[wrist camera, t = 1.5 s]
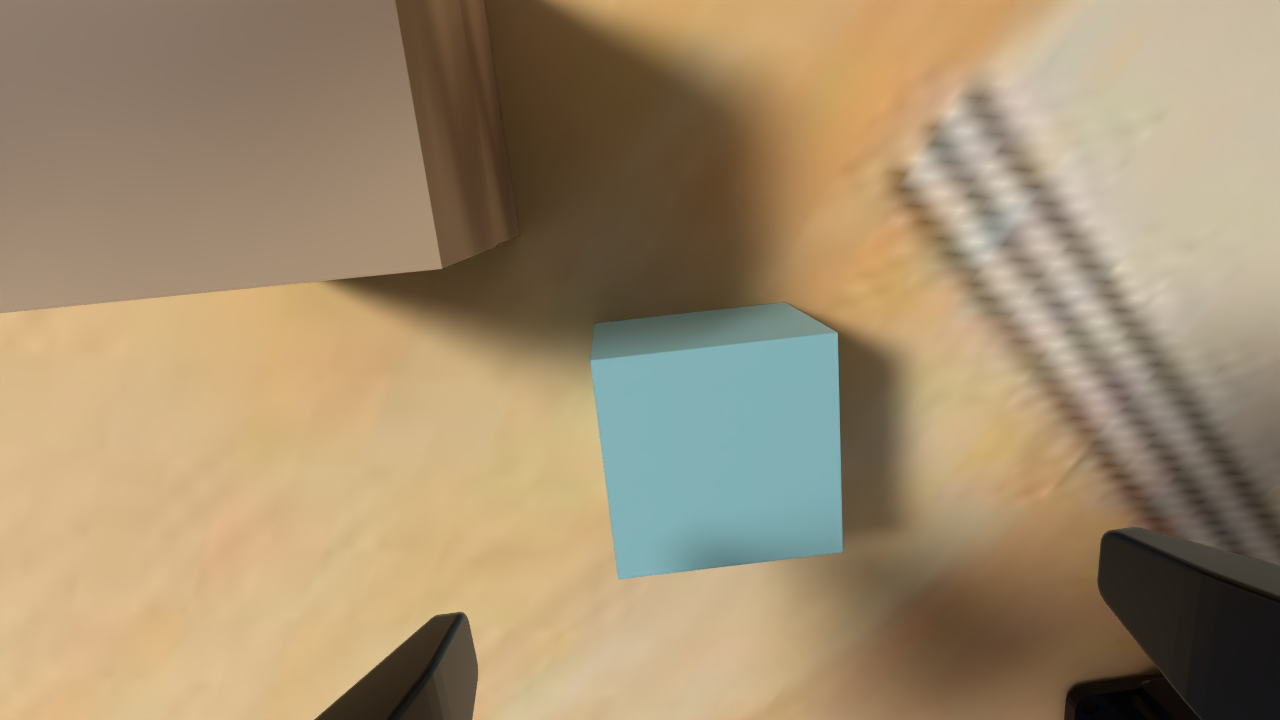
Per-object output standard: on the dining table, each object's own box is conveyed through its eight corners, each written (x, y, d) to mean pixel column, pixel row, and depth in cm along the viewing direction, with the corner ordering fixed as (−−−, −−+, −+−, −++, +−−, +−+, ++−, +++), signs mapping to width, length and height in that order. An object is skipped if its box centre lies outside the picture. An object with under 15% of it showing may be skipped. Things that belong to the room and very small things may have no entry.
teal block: (791, 474, 18) (842, 551, 14) (616, 495, 17) (618, 579, 14) (783, 301, 16) (837, 332, 12) (594, 322, 16) (589, 360, 12)
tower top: (496, 246, 12) (442, 268, 8) (176, 278, 12) (-41, 316, 8) (441, -119, 10) (339, -314, 6) (72, -89, 10) (-262, -269, 6)
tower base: (520, 235, 16) (491, 246, 12) (281, 260, 15) (172, 281, 12) (480, -32, 14) (432, -120, 10) (215, -6, 14) (65, -85, 10)
